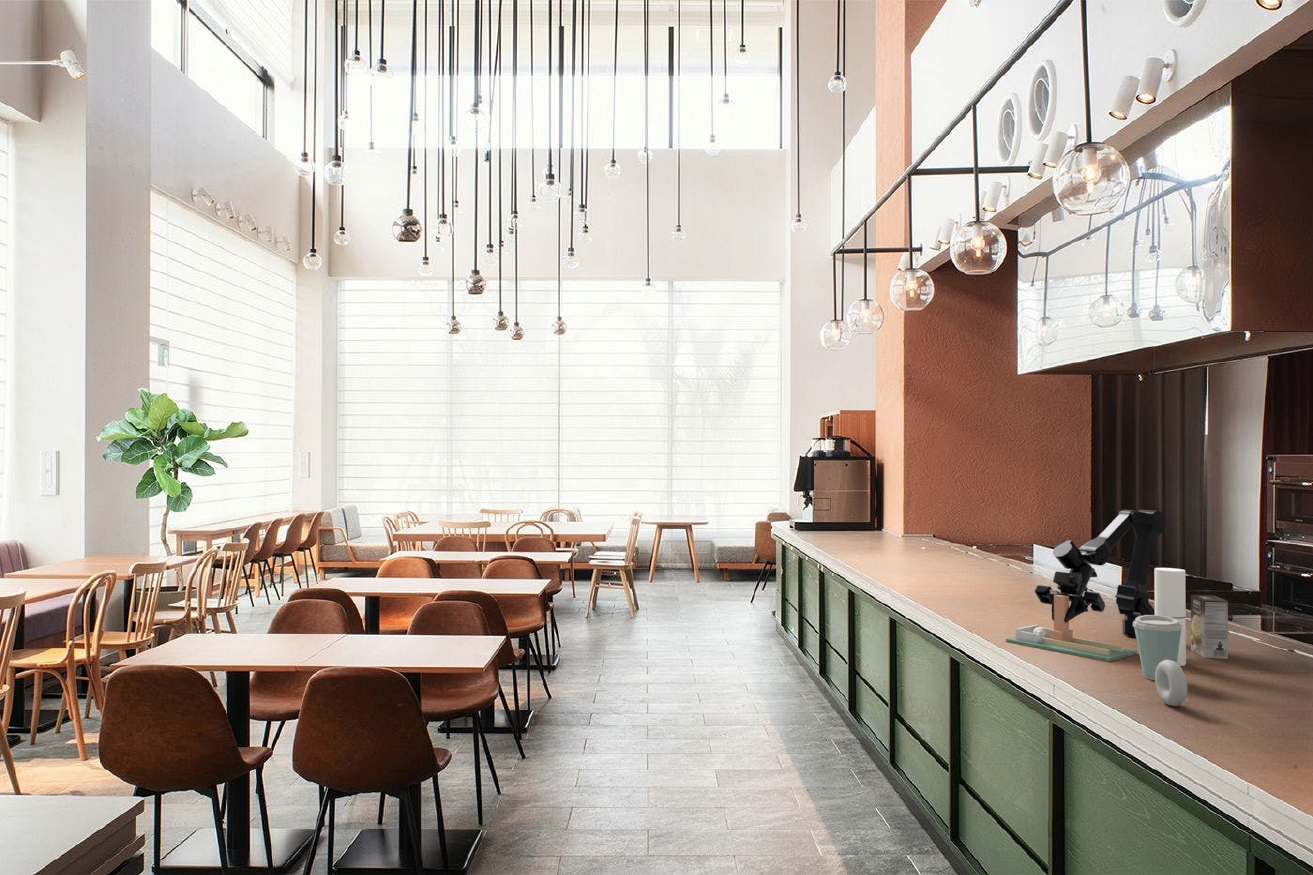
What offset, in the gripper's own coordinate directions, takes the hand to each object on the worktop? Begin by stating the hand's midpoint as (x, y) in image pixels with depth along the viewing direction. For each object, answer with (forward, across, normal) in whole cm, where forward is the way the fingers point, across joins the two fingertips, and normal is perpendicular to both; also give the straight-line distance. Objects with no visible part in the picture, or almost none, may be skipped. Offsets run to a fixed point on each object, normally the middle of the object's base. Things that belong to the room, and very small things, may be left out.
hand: (1058, 620), depth 247 cm
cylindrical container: (+1, +27, +10) cm, 29 cm away
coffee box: (-12, +30, +23) cm, 40 cm away
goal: (+4, -7, +6) cm, 10 cm away
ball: (+2, -7, +5) cm, 9 cm away
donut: (+31, +45, -20) cm, 58 cm away
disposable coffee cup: (+16, +33, -5) cm, 36 cm away
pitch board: (+4, +2, +6) cm, 8 cm away
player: (+4, 0, +6) cm, 7 cm away
